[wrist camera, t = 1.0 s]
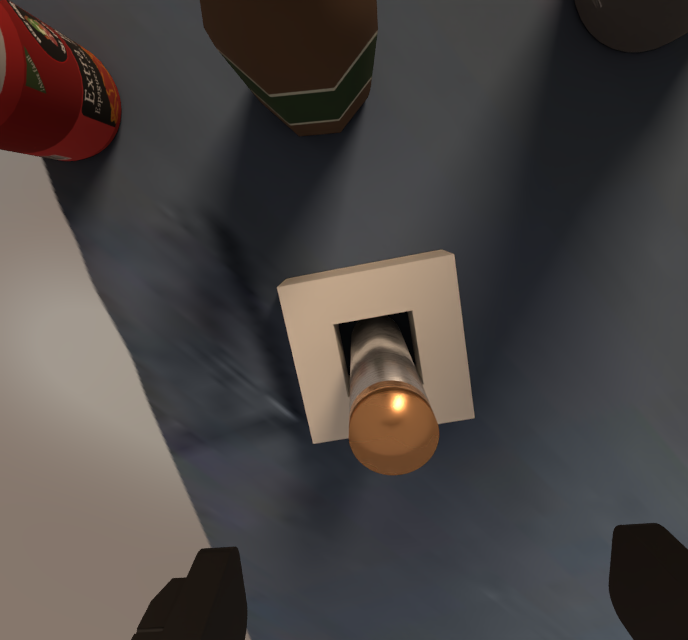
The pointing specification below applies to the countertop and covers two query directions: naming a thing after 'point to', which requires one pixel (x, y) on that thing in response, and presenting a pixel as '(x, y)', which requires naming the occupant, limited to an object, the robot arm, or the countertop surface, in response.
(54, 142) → the canned food
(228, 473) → the countertop surface
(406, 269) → the socket block
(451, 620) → the countertop surface
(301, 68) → the beer bottle
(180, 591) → the robot arm
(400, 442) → the plug
